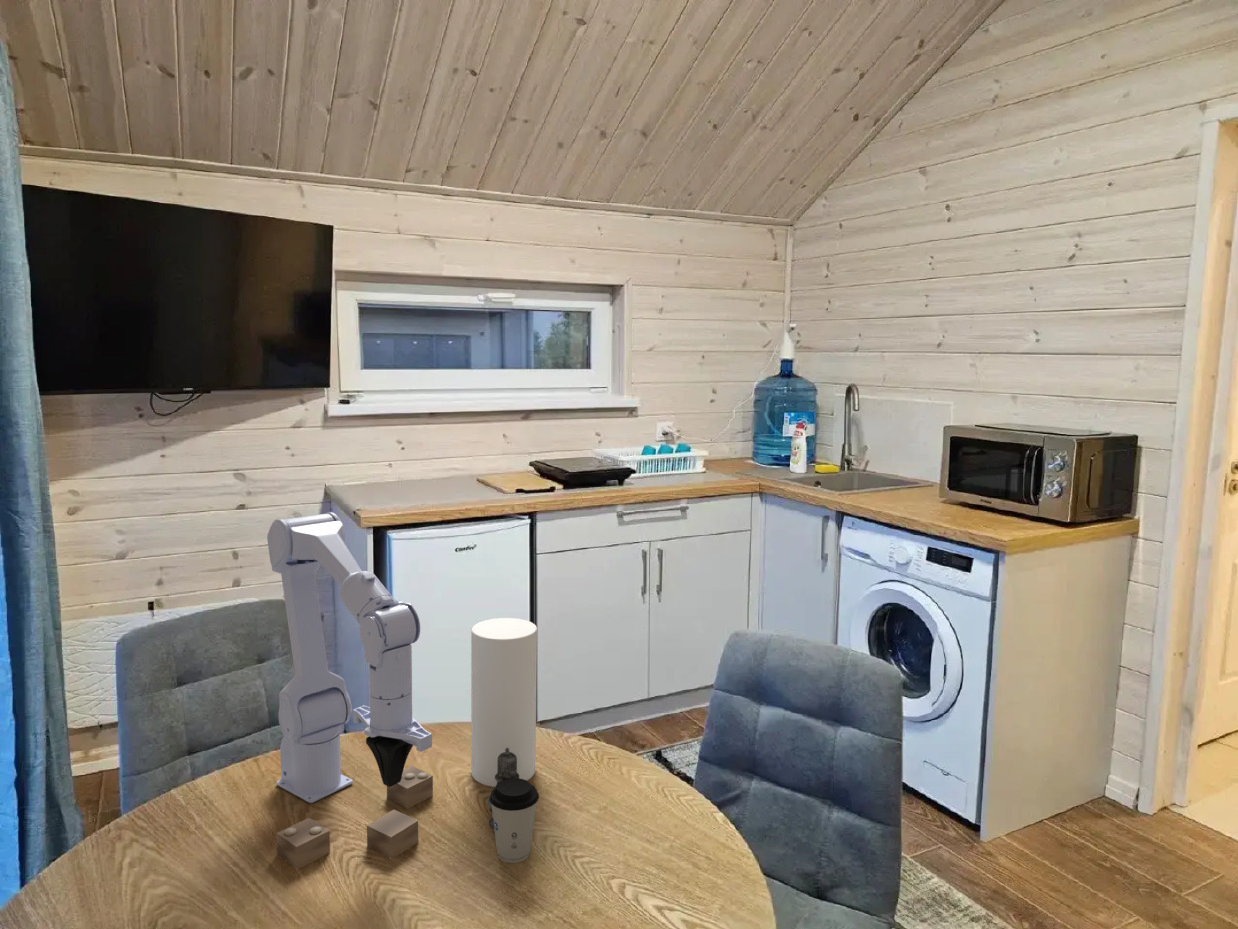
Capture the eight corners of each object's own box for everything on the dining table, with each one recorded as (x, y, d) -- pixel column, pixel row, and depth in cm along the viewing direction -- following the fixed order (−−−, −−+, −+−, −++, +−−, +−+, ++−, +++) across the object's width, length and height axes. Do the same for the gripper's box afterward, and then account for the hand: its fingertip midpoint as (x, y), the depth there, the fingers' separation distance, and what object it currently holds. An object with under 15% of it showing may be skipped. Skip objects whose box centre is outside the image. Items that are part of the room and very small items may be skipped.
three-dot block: (387, 798, 132) (386, 776, 131) (412, 786, 136) (412, 764, 135) (407, 810, 129) (407, 787, 128) (432, 796, 133) (432, 774, 132)
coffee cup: (546, 844, 120) (547, 779, 119) (525, 873, 114) (526, 804, 112) (502, 834, 123) (503, 770, 121) (479, 861, 116) (480, 794, 115)
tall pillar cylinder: (531, 788, 136) (533, 640, 132) (465, 786, 136) (465, 638, 132) (538, 756, 146) (540, 618, 143) (477, 754, 146) (477, 616, 143)
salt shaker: (519, 836, 122) (519, 759, 121) (481, 830, 123) (481, 754, 122) (531, 814, 128) (532, 740, 126) (494, 809, 129) (495, 736, 127)
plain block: (367, 848, 119) (366, 825, 118) (394, 831, 123) (393, 809, 123) (391, 860, 116) (391, 837, 116) (418, 843, 120) (418, 820, 120)
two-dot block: (277, 856, 116) (276, 831, 116) (309, 840, 120) (309, 816, 120) (297, 870, 113) (296, 845, 113) (329, 853, 117) (329, 829, 117)
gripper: (333, 687, 117) (336, 778, 119) (403, 715, 109) (404, 812, 111) (375, 672, 123) (376, 758, 125) (443, 697, 115) (443, 790, 117)
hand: (392, 782), depth 118 cm, fingers closed
